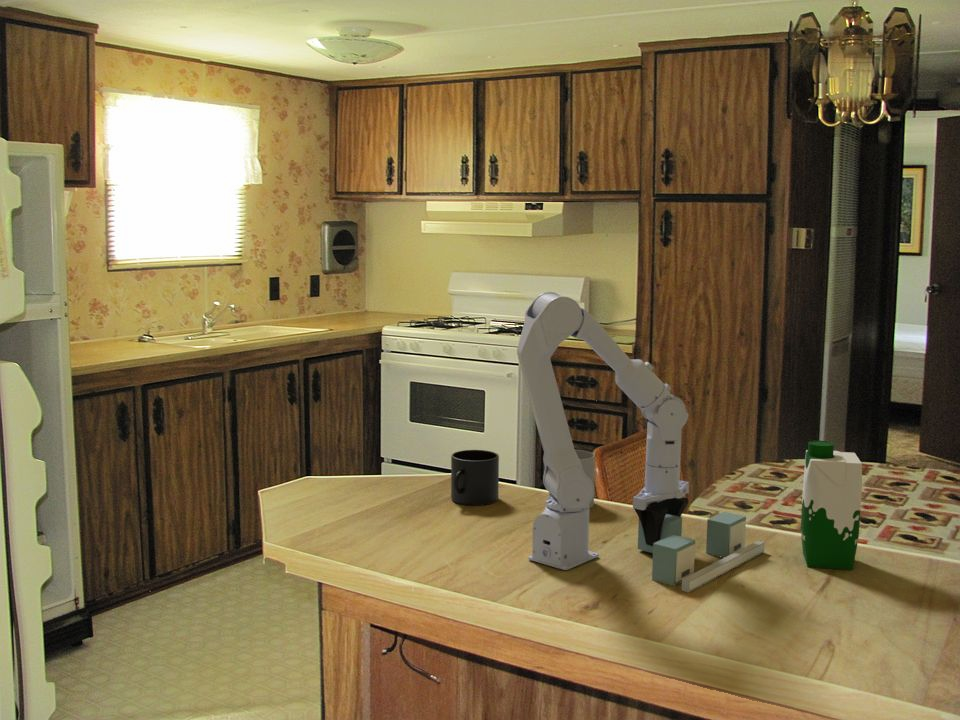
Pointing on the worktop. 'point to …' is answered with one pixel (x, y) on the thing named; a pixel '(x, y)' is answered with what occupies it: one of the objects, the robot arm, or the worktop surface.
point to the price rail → (722, 566)
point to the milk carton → (830, 506)
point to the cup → (587, 466)
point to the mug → (474, 477)
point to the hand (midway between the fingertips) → (659, 541)
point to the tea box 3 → (725, 534)
